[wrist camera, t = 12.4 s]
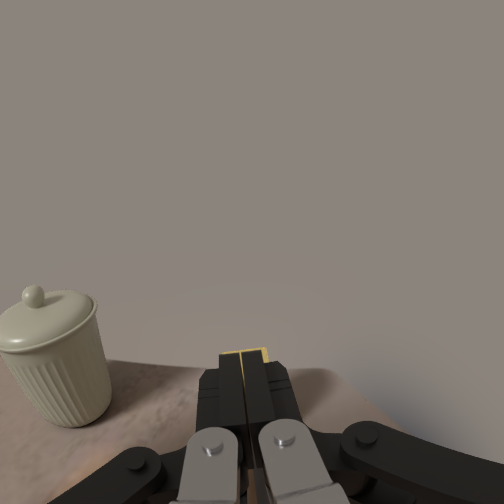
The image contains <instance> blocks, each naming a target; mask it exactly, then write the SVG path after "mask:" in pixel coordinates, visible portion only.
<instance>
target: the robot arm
mask: <svg viewBox="0 0 504 504" xmlns="http://www.w3.org/2000/svg"><path fill="white" fill-rule="evenodd" d="M241 357H242V367H243V373H242V367H241V360H240V354H239V352H238V353H229V354H221V355H219V368H218V369H207V370H205V372H204V373H203V375H202V376H201V378H200V379H199V391H198V405H197V419H196V432H195V434H194V435H192V437H191V438H190V439H189V441H188V444H187V446H185V447H184V448H182V449H180V450H177V451H174V452H170V453H167V454H163V455H158V454H157V453H156V452H155V451H154V450H152V449H150V448H146V447H133V448H129V449H127V450H125V451H123V452H121V453H120V454H119V455H117V456H116V457H115V458H113V459H112V460H111V461H109V462H108V463H106V464H105V465H104V466H102V467H101V468H99V469H98V470H97V471H95V472H94V473H92V474H91V475H89V476H88V477H87V478H85V479H84V480H82V481H81V482H79V483H78V484H76V485H75V486H73V487H72V488H70V489H69V490H67V491H66V492H64V493H63V494H61V495H60V496H58V497H57V498H55V499H54V500H52V501H51V502H49V503H47V504H249V476H248V470H249V469H255V467H254V459H253V451H252V444H253V450H254V456H255V461H256V467H257V468H263V472H264V478H265V484H266V490H267V494H268V497H269V501H270V504H504V464H500V463H496V462H493V461H489V460H485V459H481V458H478V457H474V456H471V455H468V454H464V453H461V452H457V451H455V450H451V449H448V448H445V447H442V446H439V445H436V444H433V443H430V442H427V441H424V440H422V439H419V438H416V437H414V436H411V435H408V434H405V433H403V432H400V431H398V430H395V429H392V428H390V427H387V426H385V425H382V424H380V423H377V422H373V421H361V422H357V423H354V424H352V425H350V426H349V427H347V428H346V429H345V430H344V432H343V433H342V434H340V433H321V432H317V431H314V430H312V429H310V428H309V427H308V426H306V425H305V424H304V422H303V421H302V418H301V415H300V412H299V409H298V405H297V402H296V399H295V396H294V392H293V389H292V386H291V383H290V380H289V376H288V373H287V370H286V368H285V367H284V366H283V365H282V364H280V363H279V362H278V361H274V362H267V363H264V361H263V356H262V351H261V350H253V351H246V352H241ZM243 376H244V380H243ZM244 385H245V386H244ZM250 433H251V435H250ZM251 439H252V443H251Z"/></svg>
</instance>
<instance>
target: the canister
mask: <svg viewBox="0 0 504 504" xmlns="http://www.w3.org/2000/svg"><path fill="white" fill-rule="evenodd" d="M22 299H23V301H21V302H19V303H17V304H15V305H14V306H12V307H10V308H9V309H7V310H6V311H5V312H4V313H3V314H2V315H1V316H0V354H1V356H2V358H3V360H4V362H5V363H6V365H7V367H8V368H9V370H10V371H11V373H12V375H13V376H14V378H15V379H16V381H17V382H18V384H19V385H20V387H21V388H22V390H23V391H24V393H25V394H26V395H27V397H28V398H29V400H30V401H31V402H32V404H33V405H34V406H35V407H36V409H37V410H38V411H39V412H40V413H41V415H42V416H43V417H44V418H45V419H47V420H48V421H50V422H51V423H53V424H55V425H57V426H60V427H61V426H62V427H65V428H66V427H68V428H72V427H75V428H76V427H79V426H80V427H81V426H83V425H87V424H88V423H91V422H92V421H94V420H96V419H97V418H98V417H100V416H101V415H102V414H103V413H104V412H105V410H106V409H107V408H108V406H109V404H110V401H111V397H112V387H111V381H110V376H109V372H108V368H107V363H106V359H105V355H104V351H103V347H102V343H101V338H100V334H99V329H98V324H97V320H96V315H95V313H96V311H97V301H96V300H95V298H93V297H92V296H90V295H88V294H84V293H81V292H78V291H72V290H60V291H52V292H47V293H44V291H43V289H42V288H41V287H40V286H37V285H31V286H29V287H27V288H25V290H24V291H23V293H22Z"/></svg>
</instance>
